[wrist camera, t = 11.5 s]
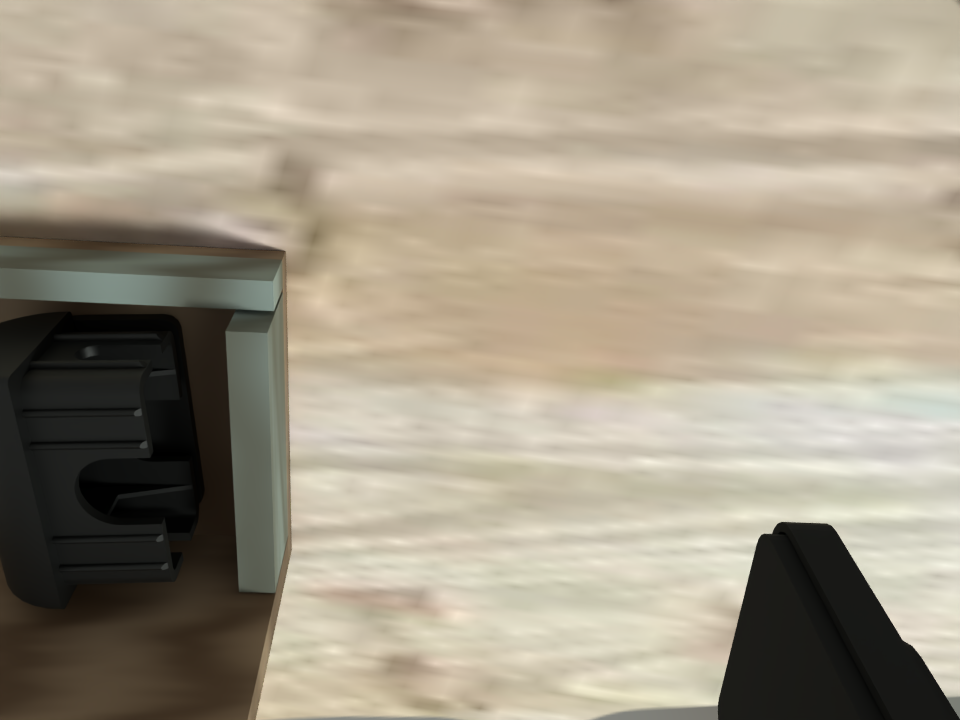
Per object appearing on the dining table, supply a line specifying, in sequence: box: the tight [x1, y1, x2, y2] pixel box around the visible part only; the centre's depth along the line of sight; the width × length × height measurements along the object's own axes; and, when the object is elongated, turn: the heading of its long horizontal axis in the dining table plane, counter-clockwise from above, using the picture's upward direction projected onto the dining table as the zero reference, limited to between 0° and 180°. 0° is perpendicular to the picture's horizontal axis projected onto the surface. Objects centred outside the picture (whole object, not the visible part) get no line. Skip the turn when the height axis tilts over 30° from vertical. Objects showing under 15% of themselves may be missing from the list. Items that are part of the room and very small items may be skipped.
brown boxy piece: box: [0, 237, 292, 720], centre depth 34 cm, size 18×15×13 cm
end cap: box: [0, 311, 205, 609], centre depth 36 cm, size 10×7×7 cm
